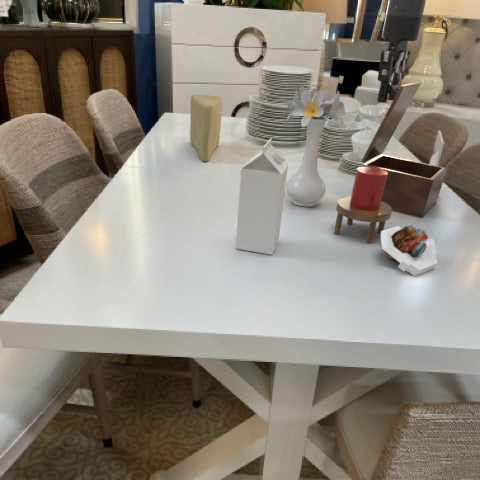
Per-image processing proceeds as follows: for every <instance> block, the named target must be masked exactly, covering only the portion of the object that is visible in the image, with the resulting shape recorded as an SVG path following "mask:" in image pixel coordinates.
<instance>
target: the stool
mask: <svg viewBox="0 0 480 480" xmlns="http://www.w3.org/2000/svg"><path fill="white" fill-rule="evenodd" d="M351 196H352V195H351ZM351 196H344V197H341V198H339V199H338V200H337V203H336V204H337V205H336V208H335V209H336V211H337V214H336V220H335V226H334V229H333V230H334V231H333V233H334V234H335V235H340V234H341V229H342V224H343V220H344V219H343V218H344V217H345V218H347V219H346V225H349V226H350V225H353V221H357V222H363V223H369V226H368V230H367V236H366V239H365V243H366V244H368V245H370V244H373V240H374V235H375V231H376V227H377V224H378V227H377V231H376V233H378V234H381V231H383V230H385V226H386V222H387V221H389V220H390V219H391V216H392V214H393V213H392V212H393V211H392V208H391V207H390V206H389V205H388V204H386V203H384V202H382V201H381V204H380V208H379V209H378V210H362V209H358V208H355V207H353V206H352V205H351V204H350V201H351Z"/></svg>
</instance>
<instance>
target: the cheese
mask: <svg viewBox="0 0 480 480" xmlns="http://www.w3.org/2000/svg"><path fill="white" fill-rule="evenodd" d="M222 100H223V99H222V97H221V96H218V95H210V94H208V95H207V94H192V95H191V96H190V127H189V128H190V129H189V139H190V144H191V145H192V147H194V148H195V149H196V151H197V154H198V156H199V158H200V160H201V162H206V163H207V162H209V161H210V158H211V156H212V155H213V152H214V151H215V149H216V148H217V146H219V145H220V138H221V137H220V136H221V126H222V125H221V124H222V104H223V101H222Z"/></svg>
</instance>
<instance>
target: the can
mask: <svg viewBox="0 0 480 480" xmlns="http://www.w3.org/2000/svg"><path fill="white" fill-rule="evenodd" d="M387 175H388V172H387V171H385V170H383V169H380V168H375V167H362V166H359V167H357V168H356V172H355V176H354V182H353V185H352V186H353V187H352V191H351V201H350V204H351V205H352V206H353V207H355V208H358V209H362V210H378V209H379V208H380V204H381V200H382V196H383V192H384V188H385V183H386V179H387Z"/></svg>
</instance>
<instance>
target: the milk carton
mask: <svg viewBox="0 0 480 480" xmlns="http://www.w3.org/2000/svg"><path fill="white" fill-rule="evenodd" d="M272 140H273V138H269V140H268V141H267V142H266V143H265V144H264V145H263V146H262V150H261V151H259V152H258V153H256V154H255V155H253V156H252V157H251V158H249V159H248V161H246V163H245V164H244V165H243V166H242V167H241V168H240V179H239V193H238V207H237V222H236V236H235V249H236V250H242V251H248V252H253V253H254V252H255V253H261V254H266V255H271V256H272V255H273V254H274V252H275V249H276V248H277V245H278V243H279V239H280V233H281V225H282V223H281V222H282V216H283V210H284V209H283V208H284V199H285V193H286V185H287V177H288V168H289V164H288V162H287V161H286V156H285V154H284V153H283V152H281V150H279V149H276V148H275V147H274V145H272Z"/></svg>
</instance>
